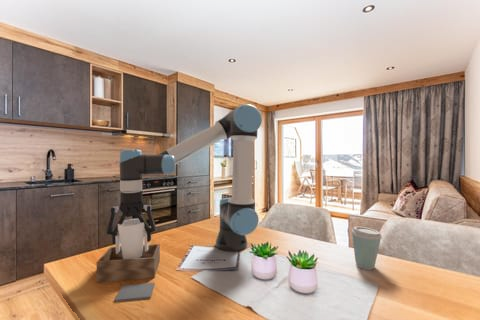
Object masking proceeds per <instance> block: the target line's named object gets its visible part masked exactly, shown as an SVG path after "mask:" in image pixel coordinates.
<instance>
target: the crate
mask: <svg viewBox="0 0 480 320" xmlns="http://www.w3.org/2000/svg"><path fill="white" fill-rule="evenodd" d="M160 252H161V244H160V243H155V244H153V243H151V244H148V250H147V251H145V244H143V249H142V256H141V257H140V258H136V259H123V255H122V249H121V245H120V252H119V253H118V254H116V246H109V248H108V249H107V250H106V251H105V252H104V253H103V255H102V256H101V257H100V258H99V259H98V260H97V261H96V283H97V284H99V283H100V284H101V283H107V282H108V283H109V282H110V283H111V282H121V281H134V280H143V279H146V280H147V279H155V278H156V274H157V271H158V268H159V265H160V262H161V261H160V259H161V258H160V257H161V253H160Z"/></svg>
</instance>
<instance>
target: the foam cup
mask: <svg viewBox="0 0 480 320" xmlns="http://www.w3.org/2000/svg"><path fill="white" fill-rule="evenodd" d="M117 224H118V223H117ZM145 233H146V230H145V229H144V222H142V223H141V222H140V220H139V219H138V218H131V219H130V218H129V219H125V220H124V222H123V224H122V225H120V224H118V234H119V237H120V246H121V249H122V255H123V259H136V258H140V257H141V256H142V249H143V245H144V242H145Z"/></svg>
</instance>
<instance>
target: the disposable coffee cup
mask: <svg viewBox="0 0 480 320" xmlns="http://www.w3.org/2000/svg"><path fill="white" fill-rule="evenodd" d="M351 234H352V235H351V236H352V241H353V242H352V243H353V244H352V245H353V251H354V258H355V259H354V260H355V264H356V266H357V267H359V268H360V269H364V270H367V271H369V270H371V271H372V270H374V269H375V267H376V263H377V257H378V252H379V247H380V243H381V239H382V233H381V232H380V231H378V230H376V229H373V228H370V227H365V226H353V228H352V230H351Z"/></svg>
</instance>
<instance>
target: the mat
mask: <svg viewBox="0 0 480 320" xmlns="http://www.w3.org/2000/svg"><path fill="white" fill-rule="evenodd" d="M155 285H156V283H155V282H148V283H147V282H146V283H145V282H143V283H133V284H124V285H122V286H121V287H120V289H119V291H118V293H117V295H116V297H115V299H114V303H119V302H129V301H137V300H149V299H151V298H152V295H153V292H154V291H153V290H154V288H155Z"/></svg>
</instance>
